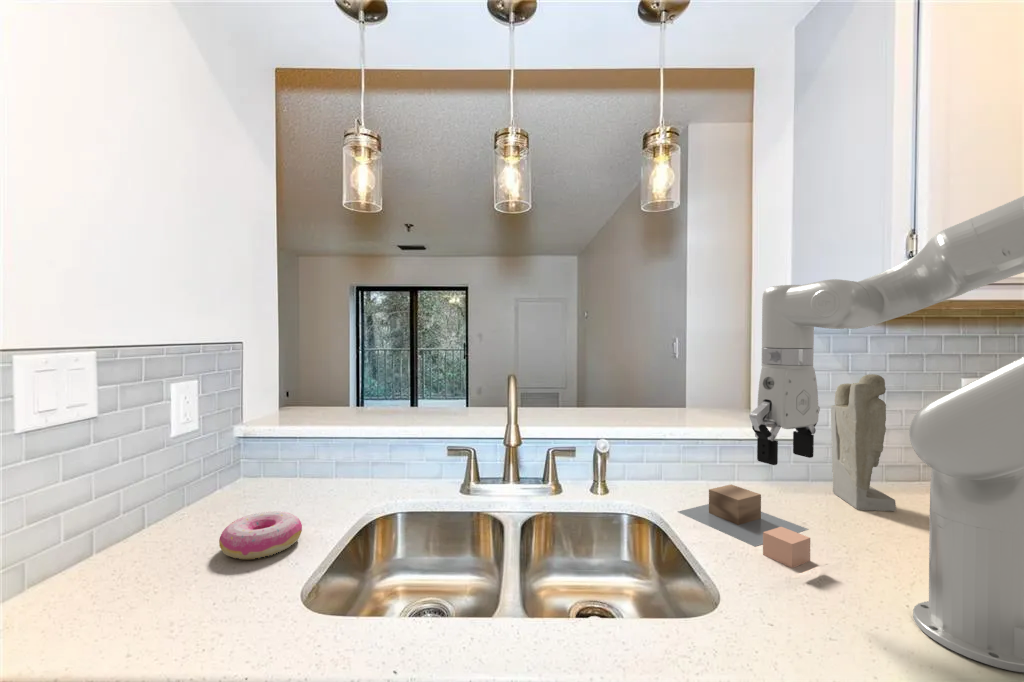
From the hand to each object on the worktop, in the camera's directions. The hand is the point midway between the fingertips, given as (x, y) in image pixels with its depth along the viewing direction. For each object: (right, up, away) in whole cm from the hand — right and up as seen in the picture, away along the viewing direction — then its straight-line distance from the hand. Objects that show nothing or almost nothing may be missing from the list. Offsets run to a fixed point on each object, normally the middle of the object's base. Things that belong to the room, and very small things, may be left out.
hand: (785, 459), depth 77 cm
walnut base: (0, -17, +18) cm, 24 cm away
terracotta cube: (0, -18, 0) cm, 18 cm away
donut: (-93, -18, +7) cm, 95 cm away
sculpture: (+35, -18, +27) cm, 47 cm away
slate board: (0, -18, +16) cm, 24 cm away
